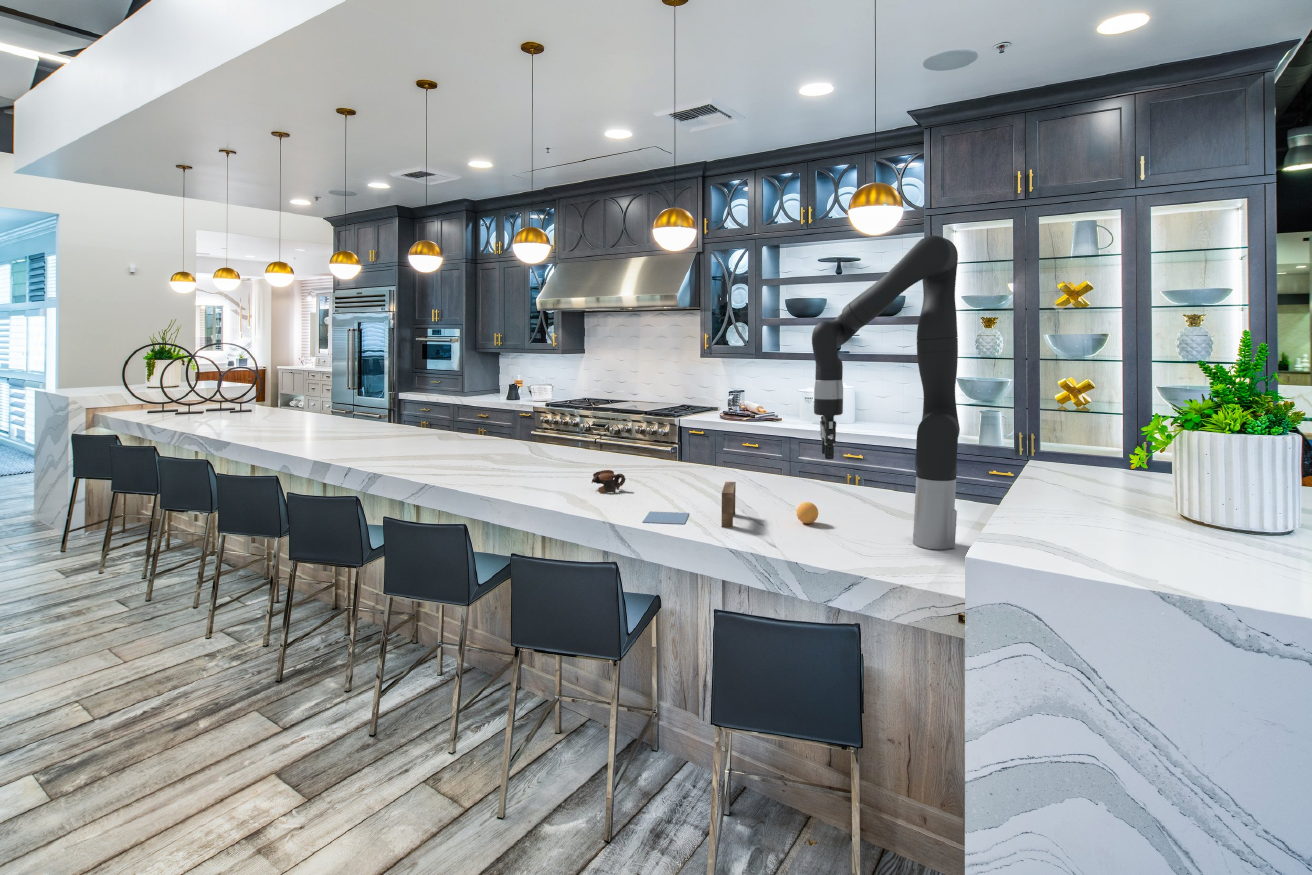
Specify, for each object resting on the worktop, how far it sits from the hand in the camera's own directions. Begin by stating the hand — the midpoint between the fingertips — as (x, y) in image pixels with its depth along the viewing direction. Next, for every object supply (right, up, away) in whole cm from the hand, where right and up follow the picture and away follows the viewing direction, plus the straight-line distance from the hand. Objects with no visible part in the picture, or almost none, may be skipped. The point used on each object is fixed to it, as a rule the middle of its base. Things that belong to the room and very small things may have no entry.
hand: (827, 456), depth 185 cm
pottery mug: (-63, -13, +50) cm, 82 cm away
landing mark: (-43, -18, +14) cm, 49 cm away
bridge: (-26, -19, +11) cm, 33 cm away
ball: (-4, -16, +6) cm, 18 cm away
